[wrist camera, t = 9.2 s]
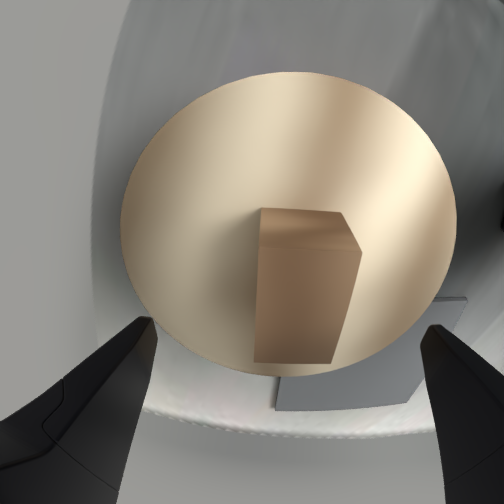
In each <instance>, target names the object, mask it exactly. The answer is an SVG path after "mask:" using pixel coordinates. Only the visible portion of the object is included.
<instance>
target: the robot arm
mask: <svg viewBox="0 0 504 504" xmlns="http://www.w3.org/2000/svg"><path fill="white" fill-rule="evenodd" d="M501 230H502V231H503V232H504V218H503V221H502V224H501ZM157 341H158V337H157V333H156V329H155V325H154V321H153V319H152V318H151V317H144V316H140V317H138V318H137V319H135V320H134V321H133V322H132V323H130V324H129V325H128V326H126V327H125V328H124V329H123V330H121V331H120V332H119V333H118V334H116V335H115V336H114V337H113V338H111V339H110V340H109V341H108V342H106V343H105V344H104V345H103V346H101V347H100V348H99V349H98V350H96V351H95V352H94V353H93V354H91V355H90V356H89V357H88V358H86V359H85V360H84V361H83V362H81V363H80V364H79V365H78V366H76V367H75V368H74V369H73V370H72V371H70V372H69V373H68V374H67V375H65V376H64V377H63V379H60V380H59V381H58V382H57V383H55V384H54V385H53V386H52V387H50V388H49V389H48V390H47V391H45V392H44V393H43V394H41V395H40V396H38V397H37V398H35V399H34V400H33V401H31V402H30V403H28V404H27V405H25V406H24V407H22V408H21V409H19V410H18V411H16V412H15V413H13V414H12V415H10V416H9V417H7V418H5V419H4V420H2V421H0V504H116V502H117V498H118V494H119V492H118V491H119V489H120V485H121V481H122V477H123V473H124V469H125V465H126V462H127V457H128V454H129V450H130V447H131V443H132V440H133V436H134V433H135V429H136V425H137V422H138V419H139V415H140V412H141V409H142V405H143V402H144V399H145V396H146V392H147V389H148V386H149V382H150V377H151V372H152V367H153V361H154V356H155V351H156V347H157ZM420 351H421V356H422V362H423V368H424V374H425V381H426V386H427V391H428V395H429V399H430V404H431V408H432V413H433V417H434V422H435V427H436V432H437V438H438V444H439V450H440V456H441V463H442V470H443V479H444V485H445V486H444V489H445V500H446V504H504V376H503V375H502V374H501V373H500V372H499V371H498V370H496V369H495V368H494V367H493V366H492V365H490V364H489V363H488V362H487V361H486V360H484V359H483V358H482V357H481V356H480V355H478V354H477V353H476V352H475V351H474V350H472V349H471V348H470V347H469V346H467V345H466V344H465V343H464V342H462V341H461V340H460V339H459V338H457V337H456V336H455V335H454V334H452V333H451V332H450V331H449V330H447V329H446V328H445V327H443V326H442V325H441V324H432V325H430V326H429V327H428V328H427V330H426V332H425V334H424V336H423V338H422V340H421V343H420Z"/></svg>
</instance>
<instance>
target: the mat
mask: <svg viewBox="0 0 504 504" xmlns="http://www.w3.org/2000/svg"><path fill="white" fill-rule="evenodd" d="M467 302H468V299H467V298H466V297H453V298H434V299H433V301H432V302H431V304H430V305H429V306H428V308H427V309H426V310H425V312H424V313H423V314H422V315H421V317H420V318H419V319H418V320H417V321H416V322H415V323H414V324H413V325H412V326H411V327H410V328H409V329H408V330H407V331H406V332H405V333H404V334H402V335H401V336H400V337H399V338H397V339H396V340H395V341H394V342H392V343H391V344H389V345H388V346H386V347H385V348H383V349H382V350H380V351H379V352H377V353H375V354H373V355H371V356H369V357H367V358H365V359H363V360H361V361H359V362H356V363H354V364H351V365H349V366H346V367H343V368H340V369H336V370H333V371H329V372H324V373H319V374H314V375H305V376H292V377H280V382H279V388H278V394H277V400H276V405H275V411H326V410H345V409H358V408H369V407H378V406H387V405H395V404H402V403H407V401H408V400H409V399H410V397H411V396H412V394H413V393H414V392H415V390H416V389H417V387H418V386H419V385H420V383H421V382H422V380H423V379H424V377H425V374H424V368H423V362H422V356H421V351H420V343H421V340H422V338H423V336H424V334H425V332H426V330H427V328H428V327H429V326H430V325H432V324H441V325H442V326H443V327H445V328H446V329H447V330H449V331H450V332H451V333H452V331H453V329H454V328H455V326H456V324H457V322H458V320H459V318H460V316H461V314H462V312H463V310H464V308H465V306H466V304H467Z"/></svg>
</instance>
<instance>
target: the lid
mask: <svg viewBox="0 0 504 504" xmlns="http://www.w3.org/2000/svg"><path fill="white" fill-rule="evenodd" d="M456 221H457V215H456V206H455V197H454V193H453V189H452V185H451V181H450V178H449V174H448V172H447V170H446V168H445V165H444V163H443V161H442V159H441V156H440V154H439V153H438V151H437V150H436V148H435V146H434V145H433V143H432V142H431V140H430V139H429V137H428V136H427V135H426V133H425V132H424V131H423V130H422V129H421V128H420V127H419V126H418V124H417V123H416V122H415V121H414V120H413V119H412V118H411V117H410V116H409V115H408V114H406V113H405V112H404V111H403V110H401V109H400V108H399V107H398V106H396V105H395V104H394V103H393V102H391V101H390V100H388V99H386V98H385V97H383V96H381V95H379V94H378V93H376V92H374V91H372V90H370V89H368V88H366V87H364V86H361V85H359V84H356V83H353V82H350V81H348V80H345V79H342V78H338V77H333V76H328V75H322V74H317V73H307V72H278V73H270V74H263V75H257V76H251V77H248V78H245V79H241V80H238V81H235V82H232V83H228V84H225V85H223V86H221V87H219V88H217V89H215V90H213V91H211V92H209V93H207V94H205V95H203V96H201V97H199V98H197V99H196V100H194V101H193V102H191V103H190V104H189V105H187V106H186V107H184V108H183V109H182V110H180V111H179V112H178V113H176V114H175V115H174V116H173V117H172V118H171V119H170V120H169V121H168V122H167V123H166V124H165V125H164V126H163V127H162V128H161V129H160V130H159V131H158V132H157V133H156V134H155V136H154V137H153V138H152V140H151V141H150V142H149V144H148V145H147V146H146V148H145V149H144V151H143V152H142V154H141V155H140V157H139V159H138V161H137V163H136V165H135V167H134V169H133V171H132V173H131V175H130V178H129V181H128V184H127V187H126V190H125V194H124V197H123V203H122V210H121V216H120V241H121V248H122V255H123V260H124V263H125V267H126V270H127V273H128V276H129V279H130V281H131V283H132V285H133V288H134V290H135V292H136V294H137V296H138V297H139V299H140V300H141V302H142V304H143V305H144V307H145V308H146V310H147V311H148V312H149V314H150V315H151V316H152V317H153V319H154V320H155V321H156V322H157V323H158V324H159V325H160V326H161V327H162V328H163V329H164V330H165V331H166V332H167V333H168V334H169V335H170V336H171V337H173V338H174V339H175V340H177V341H178V342H179V343H180V344H182V345H183V346H185V347H186V348H188V349H189V350H191V351H193V352H194V353H196V354H197V355H199V356H201V357H203V358H205V359H207V360H210V361H212V362H214V363H216V364H219V365H222V366H225V367H227V368H230V369H234V370H238V371H242V372H245V373H251V374H257V375H263V376H277V377H292V376H305V375H314V374H319V373H324V372H329V371H333V370H336V369H340V368H343V367H346V366H349V365H351V364H354V363H356V362H359V361H361V360H363V359H365V358H367V357H369V356H371V355H373V354H375V353H377V352H379V351H380V350H382V349H383V348H385V347H386V346H388V345H389V344H391V343H392V342H394V341H395V340H396V339H397V338H399V337H400V336H401V335H402V334H404V333H405V332H406V331H407V330H408V329H409V328H410V327H411V326H412V325H413V324H414V323H415V322H416V321H417V320H418V319H419V318H420V317H421V315H422V314H423V313H424V312H425V310H426V309H427V308H428V306H429V305H430V304H431V302H432V301H433V299H434V297H435V296H436V294H437V292H438V291H439V289H440V287H441V285H442V283H443V281H444V278H445V276H446V274H447V271H448V268H449V265H450V262H451V259H452V255H453V250H454V245H455V239H456Z"/></svg>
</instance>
